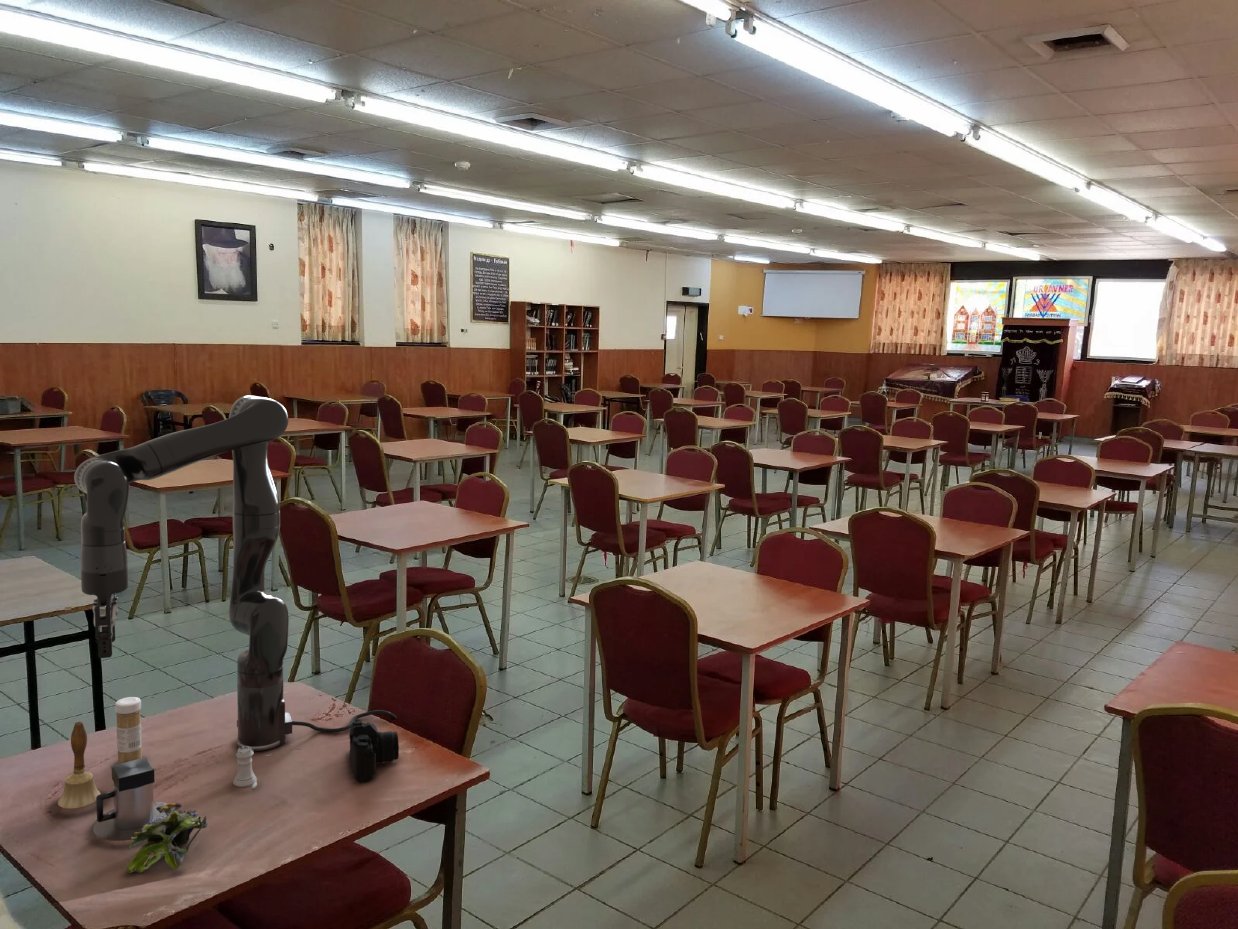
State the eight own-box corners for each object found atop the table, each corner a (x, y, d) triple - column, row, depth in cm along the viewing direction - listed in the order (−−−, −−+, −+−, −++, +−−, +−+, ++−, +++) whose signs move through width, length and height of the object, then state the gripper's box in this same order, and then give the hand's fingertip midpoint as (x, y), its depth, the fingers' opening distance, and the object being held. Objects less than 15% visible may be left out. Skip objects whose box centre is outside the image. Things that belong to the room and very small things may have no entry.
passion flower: (170, 879, 152) (207, 809, 157) (191, 898, 145) (229, 824, 149) (107, 861, 146) (148, 789, 151) (125, 881, 138) (167, 804, 143)
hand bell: (90, 788, 170) (87, 710, 168) (114, 801, 166) (112, 721, 164) (44, 806, 163) (40, 725, 161) (68, 821, 159) (65, 737, 157)
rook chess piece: (262, 784, 175) (262, 746, 174) (245, 795, 171) (245, 756, 169) (244, 780, 176) (243, 742, 175) (227, 790, 172) (226, 751, 171)
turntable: (173, 801, 167) (173, 795, 167) (176, 837, 156) (176, 830, 156) (94, 816, 161) (93, 810, 161) (90, 854, 150) (90, 847, 149)
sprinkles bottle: (139, 756, 184) (138, 694, 182) (144, 764, 180) (143, 702, 178) (115, 761, 181) (113, 699, 179) (119, 770, 177) (117, 707, 175)
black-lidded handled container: (148, 807, 162) (147, 756, 161) (157, 822, 158) (156, 769, 156) (93, 823, 157) (91, 770, 155) (101, 838, 152) (99, 784, 151)
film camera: (402, 778, 180) (403, 736, 179) (353, 785, 176) (353, 742, 175) (392, 745, 194) (393, 706, 193) (346, 751, 190) (346, 711, 189)
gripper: (84, 557, 169) (87, 639, 171) (76, 577, 156) (80, 665, 158) (129, 555, 172) (131, 635, 174) (125, 574, 159) (127, 660, 162)
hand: (107, 649), depth 166 cm, fingers open, 8 cm apart
